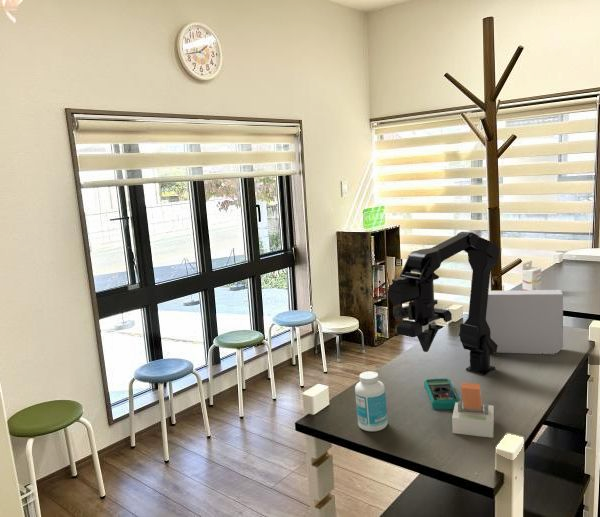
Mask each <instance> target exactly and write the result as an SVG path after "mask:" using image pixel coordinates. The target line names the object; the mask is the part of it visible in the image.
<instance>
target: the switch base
mask: <svg viewBox="0 0 600 517" xmlns="http://www.w3.org/2000/svg"><path fill="white" fill-rule="evenodd" d="M482 406H483V412H472V411H463V400H460V401H458V403H457V402H455V406H454V409H453V413H452V417H451V421H452V423H451V425H452V434H456V435H457V434H458V435H466V436H474V437H483V438H484V437H485V438H492V439H493V438H494V432H495V431H494V430H495V429H494V428H495V409H494V408H495V407H494V405H489V403H487V402H484V404H482Z"/></svg>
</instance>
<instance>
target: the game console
mask: <svg viewBox="0 0 600 517" xmlns="http://www.w3.org/2000/svg"><path fill="white" fill-rule="evenodd" d="M486 321H487V324H488V326H489V328H490V338H491V339H492V340H493V341H494V342H495V343H496V344H497V345H498V347H497V352H496V353H502V354H505V353H506V354H531V355H532V354H533V355H535V354H536V355H537V354H538V355H549V354H548V353H556V354H558V353H559V352H560V351H561V350H562V349H563V348H564V293H563V292H562V290H561V289H541V290H527V291H523V290H489V292H488V302H487V312H486ZM542 353H543V354H542Z"/></svg>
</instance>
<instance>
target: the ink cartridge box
mask: <svg viewBox="0 0 600 517" xmlns="http://www.w3.org/2000/svg"><path fill="white" fill-rule="evenodd" d="M532 263H533V261H532V260H530V261H526V262H524V263H522V274H521V276H522V277H521V278H522V279H521V280H522V282H521V283H522V284H521V285H522V291H527V290H542V267H534V266H532Z"/></svg>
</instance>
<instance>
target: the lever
mask: <svg viewBox="0 0 600 517" xmlns="http://www.w3.org/2000/svg"><path fill="white" fill-rule="evenodd" d="M460 390H461V397H462V403H463V411H472V412H483V406H482V405H483V403H482V402H483V400H482V393H481V385H480V383H474V382H472V383H470V382H469V383H468V382H460Z"/></svg>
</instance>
